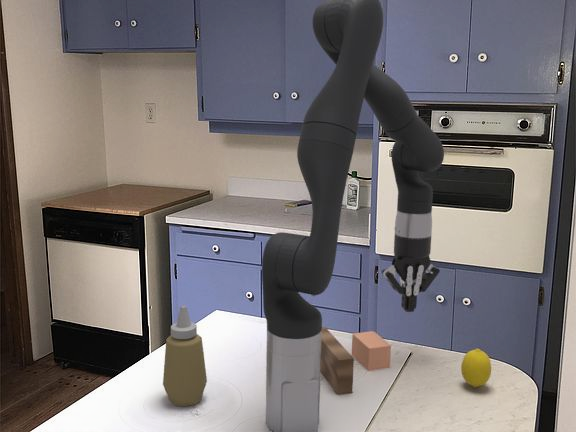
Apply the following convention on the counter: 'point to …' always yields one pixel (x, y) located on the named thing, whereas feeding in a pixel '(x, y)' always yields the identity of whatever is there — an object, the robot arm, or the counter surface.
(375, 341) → the terracotta block
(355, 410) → the counter surface
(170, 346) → the squeeze bottle
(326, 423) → the counter surface
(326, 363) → the walnut plank
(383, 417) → the counter surface
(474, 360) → the lemon
